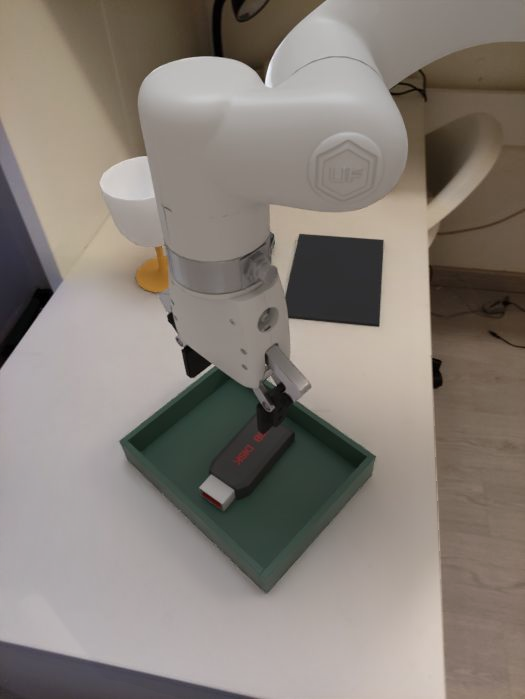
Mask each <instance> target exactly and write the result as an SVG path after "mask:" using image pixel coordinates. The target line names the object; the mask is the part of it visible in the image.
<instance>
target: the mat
mask: <svg viewBox="0 0 525 699" xmlns="http://www.w3.org/2000/svg"><path fill="white" fill-rule="evenodd" d="M384 243H385V242H384V239H377V238H365V237H364V238H363V237H351V236H350V237H349V236H335V235H322V234H308V233H299V234H298V238H297V243H296V247H295V251H294V255H293V260H292V264H291V269H290V274H289V278H288V282H287V287H286V292H285V294H284V295H285V300H286V305H287V311H288V319H294V320H295V319H297V320H306V321H307V320H308V321H317V322H327V323H329V322H330V323H336V324H337V323H338V324H350V325H359V326H368V327H380V322H381V321H380V320H381V303H382V302H381V301H382V300H381V299H382V281H383V280H382V279H383V262H384V260H383V258H384Z"/></svg>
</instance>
